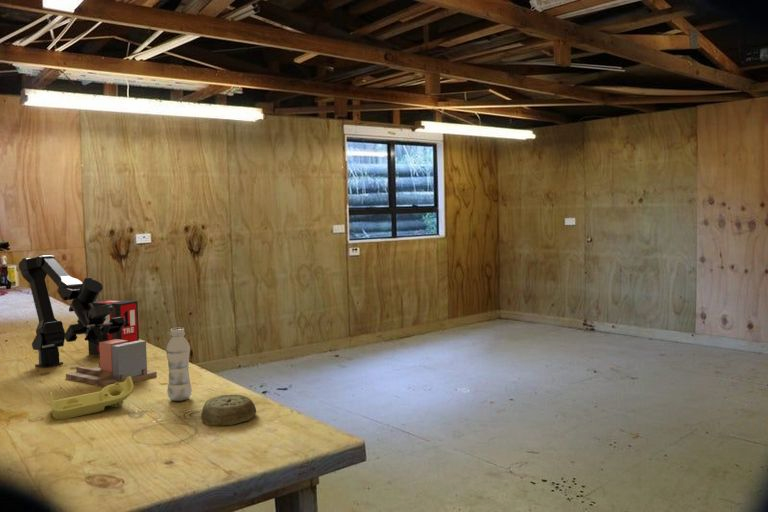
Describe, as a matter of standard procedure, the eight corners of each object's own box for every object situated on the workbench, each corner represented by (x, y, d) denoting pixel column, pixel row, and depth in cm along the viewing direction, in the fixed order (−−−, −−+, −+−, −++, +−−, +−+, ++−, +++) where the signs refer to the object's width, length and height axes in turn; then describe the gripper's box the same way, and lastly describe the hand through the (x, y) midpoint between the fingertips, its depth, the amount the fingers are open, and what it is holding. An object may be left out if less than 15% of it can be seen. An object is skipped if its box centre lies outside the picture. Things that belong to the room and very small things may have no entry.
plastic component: (51, 413, 151) (49, 388, 158) (55, 435, 154) (52, 409, 162) (136, 395, 161) (130, 372, 168) (137, 416, 164) (131, 392, 171)
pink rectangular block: (100, 373, 193) (99, 342, 193) (117, 369, 198) (116, 339, 198) (112, 375, 190) (110, 343, 189) (128, 371, 195) (127, 340, 194)
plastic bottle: (169, 404, 164) (166, 331, 163) (166, 398, 170) (163, 328, 169) (194, 401, 167) (191, 329, 166) (189, 395, 173) (187, 325, 172)
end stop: (113, 379, 186) (111, 345, 186) (141, 372, 195) (140, 340, 194) (119, 380, 185) (117, 346, 184) (147, 373, 193) (146, 340, 193)
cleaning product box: (139, 352, 234) (137, 301, 233) (121, 357, 225) (119, 304, 224) (107, 349, 240) (105, 299, 239) (88, 354, 232) (86, 302, 231)
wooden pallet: (66, 378, 195) (65, 368, 195) (111, 368, 208) (110, 358, 208) (111, 388, 182) (111, 377, 182) (156, 376, 196) (156, 366, 195)
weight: (227, 431, 142) (226, 410, 142) (188, 422, 150) (188, 402, 149) (267, 415, 154) (266, 396, 154) (229, 407, 161) (229, 389, 161)
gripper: (67, 299, 189) (90, 337, 184) (120, 293, 205) (143, 327, 200) (54, 322, 194) (76, 360, 189) (107, 314, 210) (129, 349, 205)
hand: (107, 348), depth 195 cm, fingers closed, pressing on pink rectangular block
